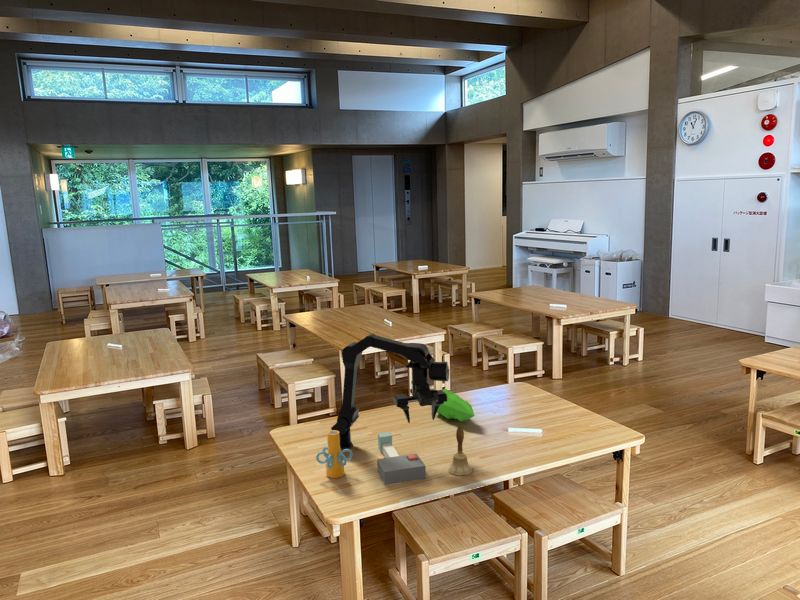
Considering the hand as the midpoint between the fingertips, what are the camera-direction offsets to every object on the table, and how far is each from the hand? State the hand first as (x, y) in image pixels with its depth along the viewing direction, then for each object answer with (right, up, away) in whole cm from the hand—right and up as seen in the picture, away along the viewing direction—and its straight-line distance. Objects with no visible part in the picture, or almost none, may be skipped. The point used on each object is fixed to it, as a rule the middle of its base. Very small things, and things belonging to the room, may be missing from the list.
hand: (421, 421), depth 216 cm
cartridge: (-11, -13, -2) cm, 17 cm away
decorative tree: (+14, -6, +34) cm, 37 cm away
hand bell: (+13, -14, -13) cm, 23 cm away
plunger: (-3, -14, -12) cm, 19 cm away
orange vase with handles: (-30, -16, -13) cm, 36 cm away
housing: (-7, -15, -15) cm, 23 cm away
